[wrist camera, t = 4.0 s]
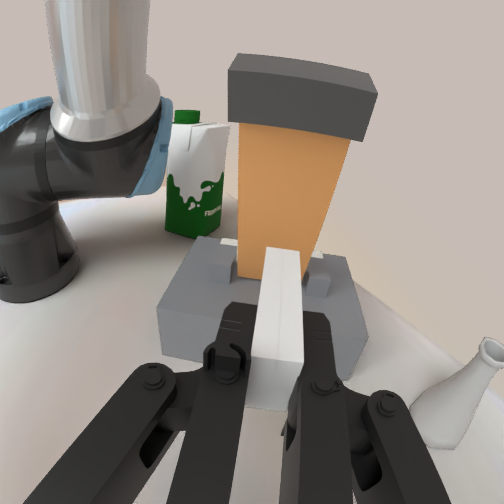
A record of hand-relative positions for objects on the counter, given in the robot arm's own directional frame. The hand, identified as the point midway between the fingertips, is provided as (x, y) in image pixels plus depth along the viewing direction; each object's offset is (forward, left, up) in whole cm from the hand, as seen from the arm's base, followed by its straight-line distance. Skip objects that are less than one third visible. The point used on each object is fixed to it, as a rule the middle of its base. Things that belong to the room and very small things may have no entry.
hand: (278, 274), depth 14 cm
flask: (+14, +12, -15) cm, 24 cm away
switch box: (-8, +10, -15) cm, 20 cm away
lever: (-8, +10, -9) cm, 16 cm away
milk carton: (-32, +18, -15) cm, 40 cm away
